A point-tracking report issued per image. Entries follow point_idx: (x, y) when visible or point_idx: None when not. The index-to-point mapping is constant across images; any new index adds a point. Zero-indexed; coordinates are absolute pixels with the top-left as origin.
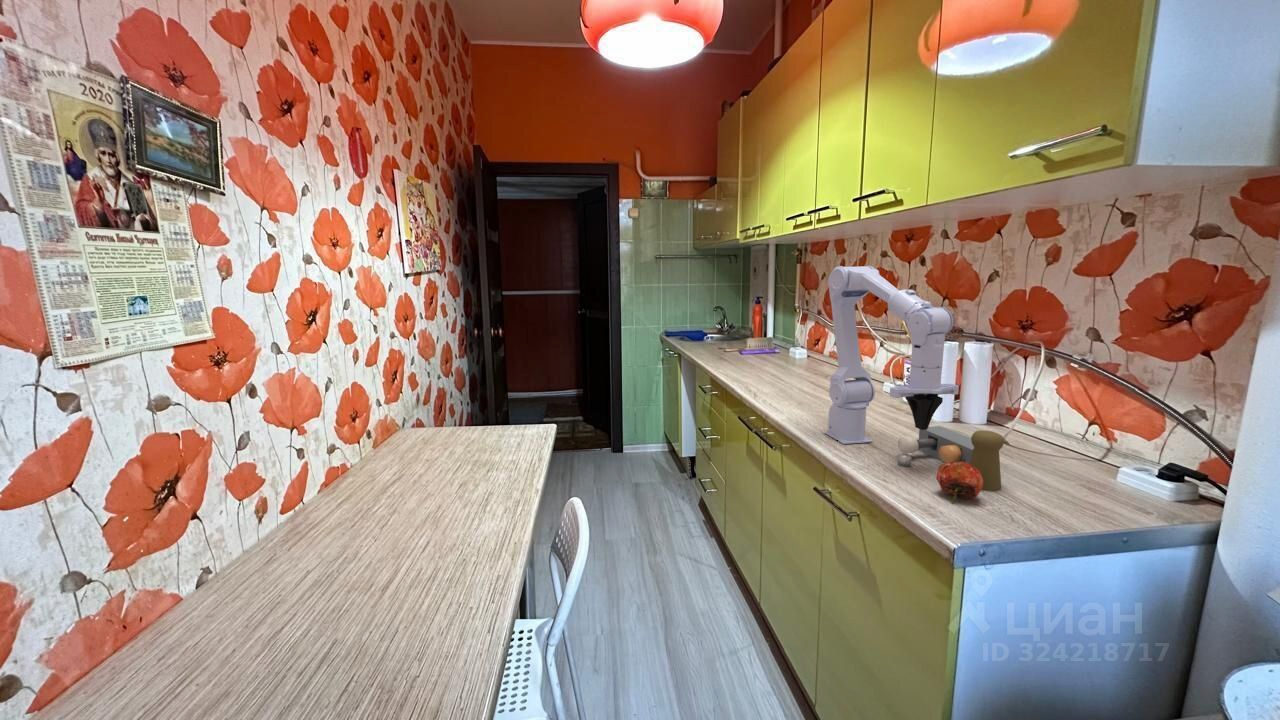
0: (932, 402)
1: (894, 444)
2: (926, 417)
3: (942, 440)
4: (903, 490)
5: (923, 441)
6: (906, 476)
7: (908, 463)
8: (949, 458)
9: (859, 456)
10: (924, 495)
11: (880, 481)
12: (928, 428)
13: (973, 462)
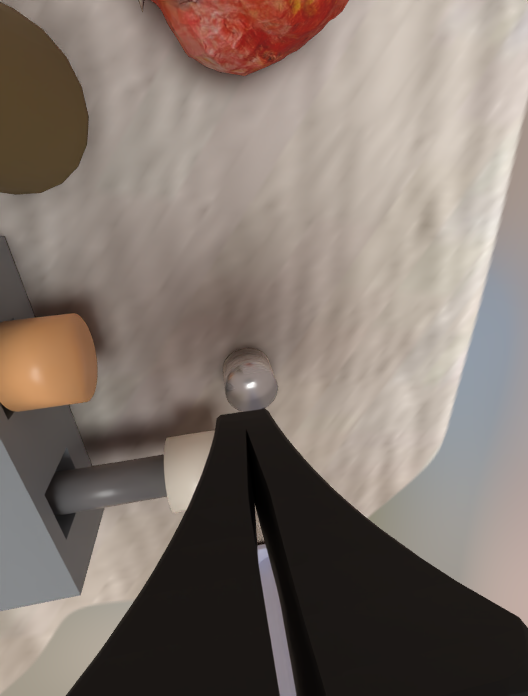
0: (276, 694)
1: (169, 538)
2: (271, 474)
3: (32, 471)
4: (428, 102)
5: (122, 483)
6: (313, 255)
7: (246, 355)
8: (74, 323)
9: (356, 442)
10: (380, 20)
11: (448, 215)
12: (40, 588)
13: (12, 83)
